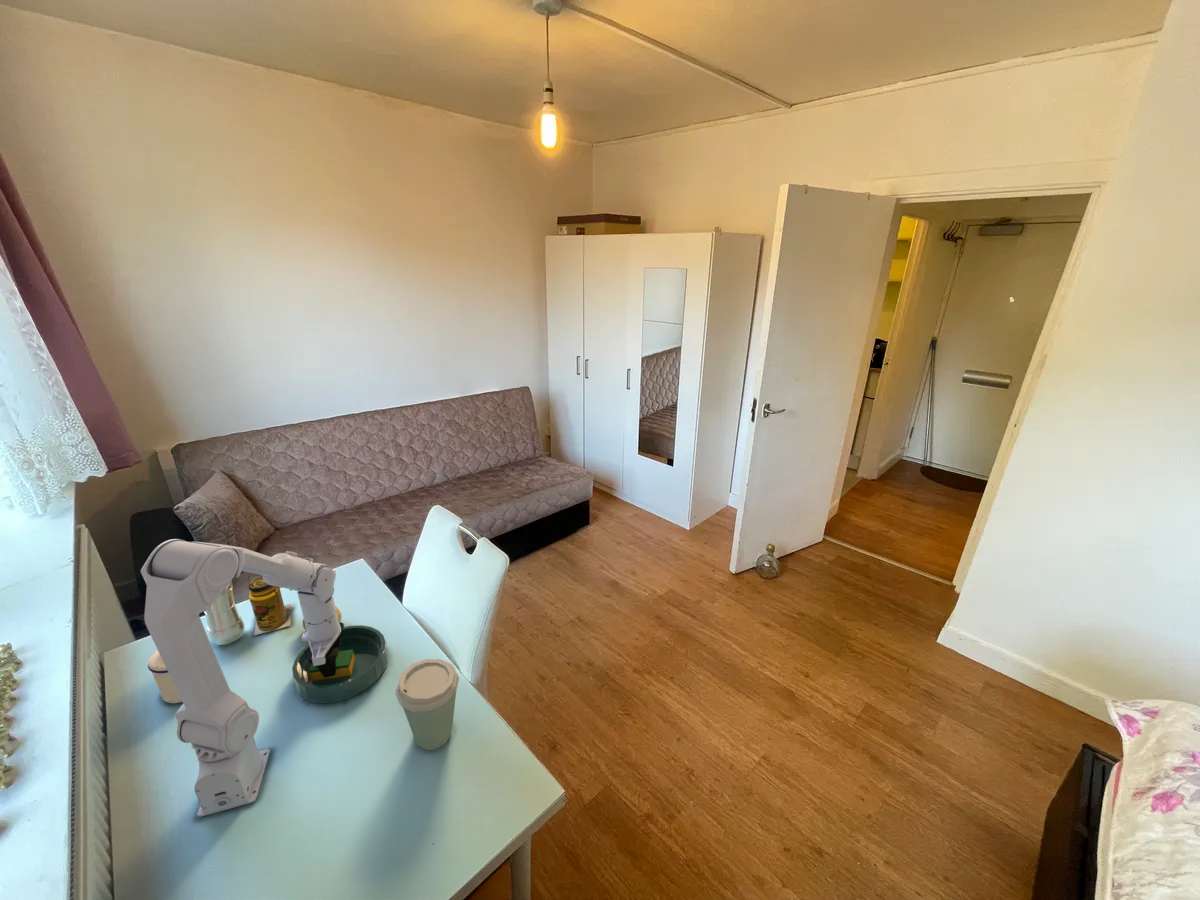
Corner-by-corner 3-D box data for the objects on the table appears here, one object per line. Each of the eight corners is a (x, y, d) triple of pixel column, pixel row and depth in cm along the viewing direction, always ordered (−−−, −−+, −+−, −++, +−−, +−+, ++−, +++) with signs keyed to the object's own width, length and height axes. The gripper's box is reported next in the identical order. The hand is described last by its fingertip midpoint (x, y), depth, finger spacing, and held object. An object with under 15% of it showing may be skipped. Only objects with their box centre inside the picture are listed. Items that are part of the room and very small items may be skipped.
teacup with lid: (225, 682, 101) (210, 638, 97) (170, 713, 94) (152, 667, 90) (201, 656, 107) (186, 614, 103) (148, 684, 100) (130, 639, 96)
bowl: (385, 692, 100) (382, 676, 98) (287, 715, 94) (283, 698, 93) (390, 633, 115) (387, 618, 114) (305, 650, 110) (302, 634, 108)
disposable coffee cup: (442, 701, 98) (435, 644, 93) (475, 733, 92) (470, 673, 87) (393, 738, 91) (382, 677, 85) (425, 775, 84) (416, 712, 79)
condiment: (254, 636, 113) (241, 594, 109) (257, 613, 120) (246, 573, 116) (290, 626, 117) (279, 585, 112) (292, 605, 124) (282, 565, 119)
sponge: (355, 659, 107) (353, 649, 106) (350, 675, 103) (348, 664, 102) (317, 665, 105) (315, 654, 104) (311, 681, 101) (308, 670, 100)
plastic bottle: (214, 633, 114) (191, 561, 106) (249, 625, 117) (228, 554, 109) (207, 652, 108) (182, 577, 101) (244, 643, 111) (222, 570, 104)
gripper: (305, 596, 104) (317, 645, 109) (288, 644, 91) (303, 697, 96) (342, 590, 106) (352, 638, 111) (331, 636, 93) (342, 689, 98)
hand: (331, 665), depth 104 cm, fingers closed on sponge, 4 cm apart
